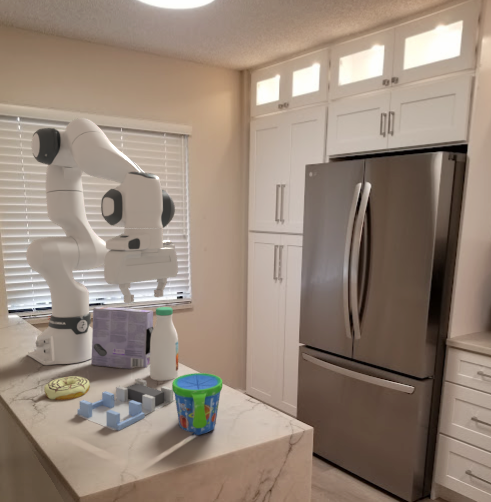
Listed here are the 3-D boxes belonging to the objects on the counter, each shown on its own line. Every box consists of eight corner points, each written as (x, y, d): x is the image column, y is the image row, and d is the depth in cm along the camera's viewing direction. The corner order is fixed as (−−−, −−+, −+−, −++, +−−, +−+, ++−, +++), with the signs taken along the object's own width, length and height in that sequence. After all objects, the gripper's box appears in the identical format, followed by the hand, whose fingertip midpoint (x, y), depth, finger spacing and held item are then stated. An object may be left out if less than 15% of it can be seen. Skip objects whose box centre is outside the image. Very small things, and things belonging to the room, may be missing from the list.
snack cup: (176, 412, 97) (176, 368, 97) (222, 411, 98) (222, 368, 97) (167, 447, 82) (167, 396, 81) (222, 446, 82) (222, 395, 82)
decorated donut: (46, 408, 99) (46, 392, 99) (43, 392, 108) (42, 378, 108) (93, 399, 104) (92, 384, 104) (86, 385, 114) (85, 371, 113)
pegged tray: (75, 419, 93) (75, 401, 93) (137, 392, 108) (137, 377, 108) (116, 436, 86) (116, 416, 86) (177, 405, 101) (177, 388, 101)
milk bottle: (172, 385, 114) (172, 311, 113) (145, 382, 115) (145, 310, 114) (182, 375, 121) (182, 306, 120) (157, 373, 123) (156, 305, 122)
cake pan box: (156, 366, 129) (156, 308, 128) (148, 371, 124) (148, 312, 123) (99, 361, 133) (99, 305, 132) (90, 366, 129) (89, 308, 127)
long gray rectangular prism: (125, 398, 102) (125, 387, 102) (136, 393, 105) (136, 383, 105) (153, 407, 97) (153, 396, 97) (164, 402, 100) (164, 391, 100)
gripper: (165, 239, 110) (165, 292, 110) (99, 241, 92) (100, 304, 93) (183, 240, 106) (183, 295, 107) (118, 242, 89) (119, 307, 90)
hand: (144, 299), depth 100 cm, fingers open, 8 cm apart
